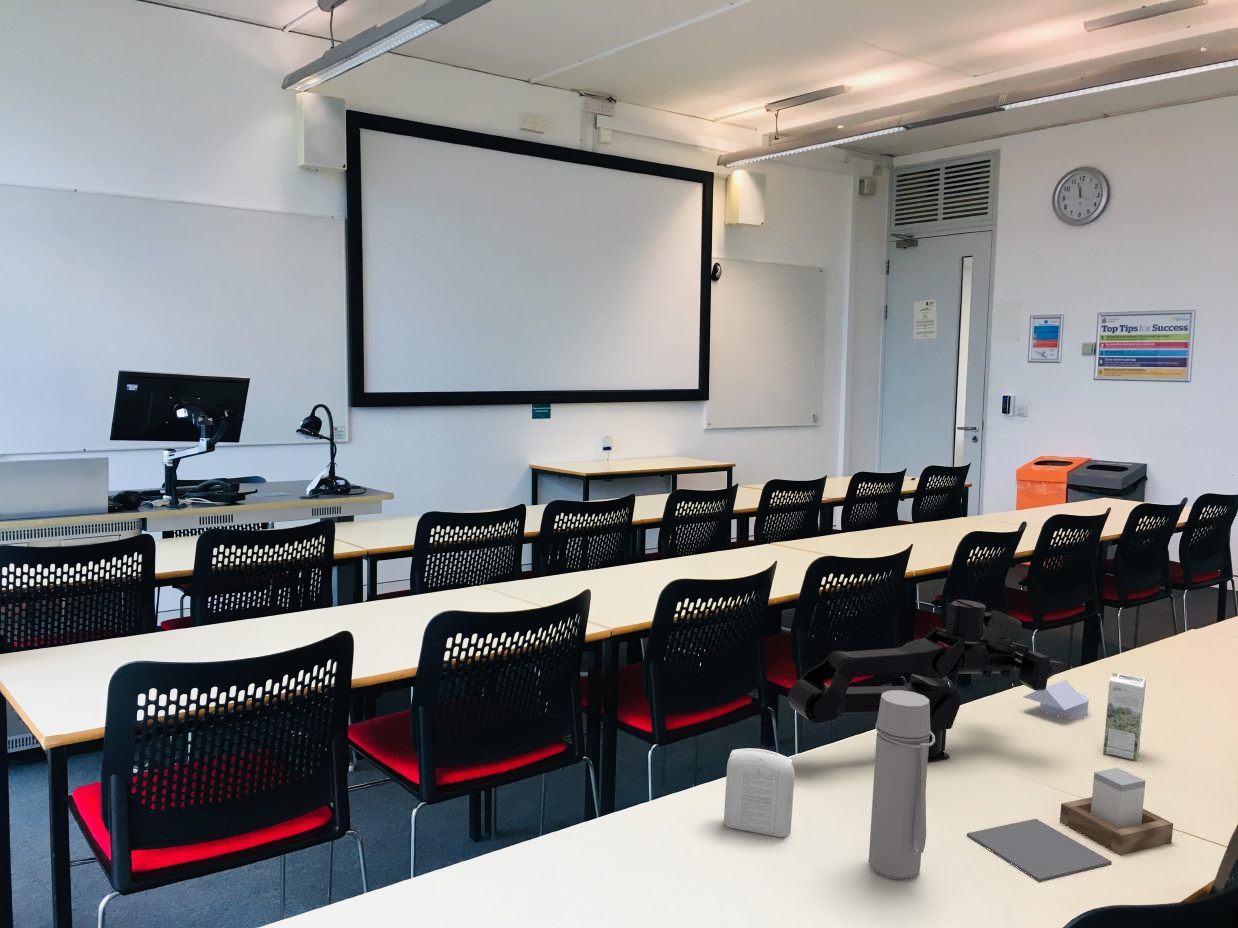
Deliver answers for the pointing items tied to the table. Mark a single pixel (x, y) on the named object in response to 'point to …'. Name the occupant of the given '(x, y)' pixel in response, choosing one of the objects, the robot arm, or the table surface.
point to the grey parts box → (1118, 798)
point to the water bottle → (900, 784)
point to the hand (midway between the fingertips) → (1044, 657)
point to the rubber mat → (1039, 849)
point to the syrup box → (1124, 716)
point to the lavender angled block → (1061, 700)
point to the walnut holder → (1112, 837)
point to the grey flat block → (759, 792)
